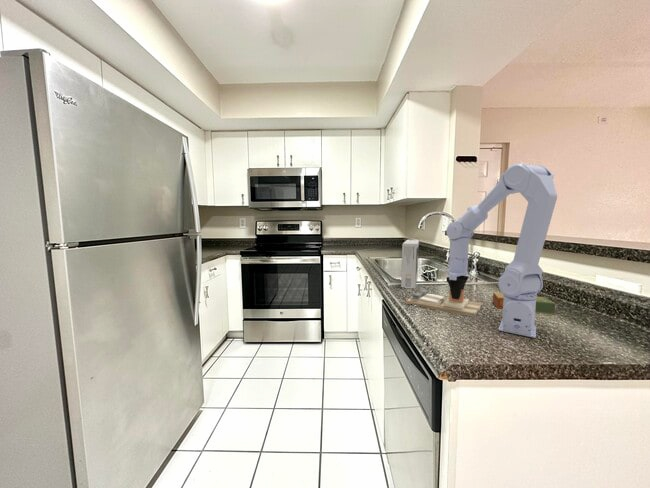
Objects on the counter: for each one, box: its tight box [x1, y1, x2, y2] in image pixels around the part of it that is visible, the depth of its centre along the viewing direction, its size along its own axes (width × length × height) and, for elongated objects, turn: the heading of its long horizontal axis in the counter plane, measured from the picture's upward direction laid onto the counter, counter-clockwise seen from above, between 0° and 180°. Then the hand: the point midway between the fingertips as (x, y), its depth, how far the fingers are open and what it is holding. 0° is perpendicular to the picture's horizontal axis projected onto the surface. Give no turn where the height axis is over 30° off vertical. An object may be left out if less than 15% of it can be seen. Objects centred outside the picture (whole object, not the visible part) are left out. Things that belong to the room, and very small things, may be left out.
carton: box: [492, 292, 556, 316], centre depth 94 cm, size 8×16×4 cm, turn 68°
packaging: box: [400, 239, 420, 289], centre depth 134 cm, size 30×6×20 cm, turn 160°
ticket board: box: [404, 289, 483, 318], centre depth 97 cm, size 14×22×3 cm, turn 52°
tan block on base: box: [443, 289, 470, 309], centre depth 94 cm, size 10×6×5 cm, turn 142°
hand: (456, 297), depth 94 cm, fingers closed on tan block on base, 3 cm apart
